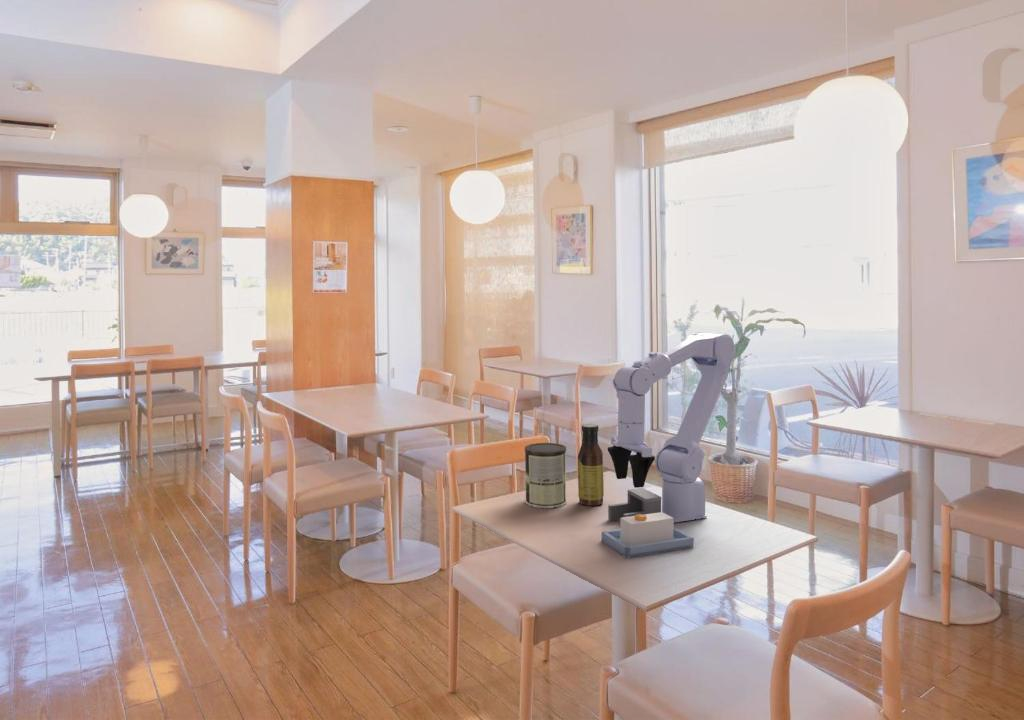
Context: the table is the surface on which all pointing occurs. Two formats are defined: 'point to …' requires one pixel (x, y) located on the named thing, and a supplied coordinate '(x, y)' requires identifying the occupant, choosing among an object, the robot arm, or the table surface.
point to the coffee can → (545, 475)
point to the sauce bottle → (590, 468)
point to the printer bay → (635, 504)
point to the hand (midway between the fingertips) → (629, 482)
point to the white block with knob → (646, 528)
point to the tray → (677, 543)
